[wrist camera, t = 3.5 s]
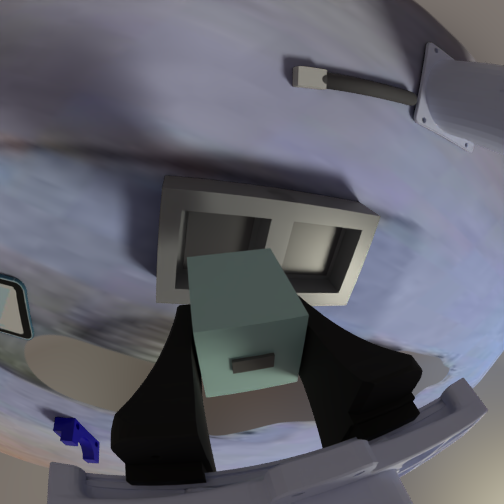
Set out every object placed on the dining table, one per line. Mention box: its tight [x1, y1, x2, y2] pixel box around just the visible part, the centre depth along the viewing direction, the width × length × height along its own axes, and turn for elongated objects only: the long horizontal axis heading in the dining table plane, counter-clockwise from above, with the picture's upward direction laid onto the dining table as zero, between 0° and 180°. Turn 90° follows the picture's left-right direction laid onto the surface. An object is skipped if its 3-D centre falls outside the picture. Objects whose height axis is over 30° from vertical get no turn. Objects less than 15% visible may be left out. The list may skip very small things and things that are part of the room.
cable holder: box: [53, 417, 99, 463], centre depth 29 cm, size 8×4×4 cm, turn 2°
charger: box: [187, 248, 309, 397], centre depth 13 cm, size 4×4×5 cm
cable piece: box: [293, 66, 417, 106], centre depth 17 cm, size 11×1×1 cm, turn 88°
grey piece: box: [156, 175, 380, 306], centre depth 21 cm, size 15×8×3 cm, turn 78°
